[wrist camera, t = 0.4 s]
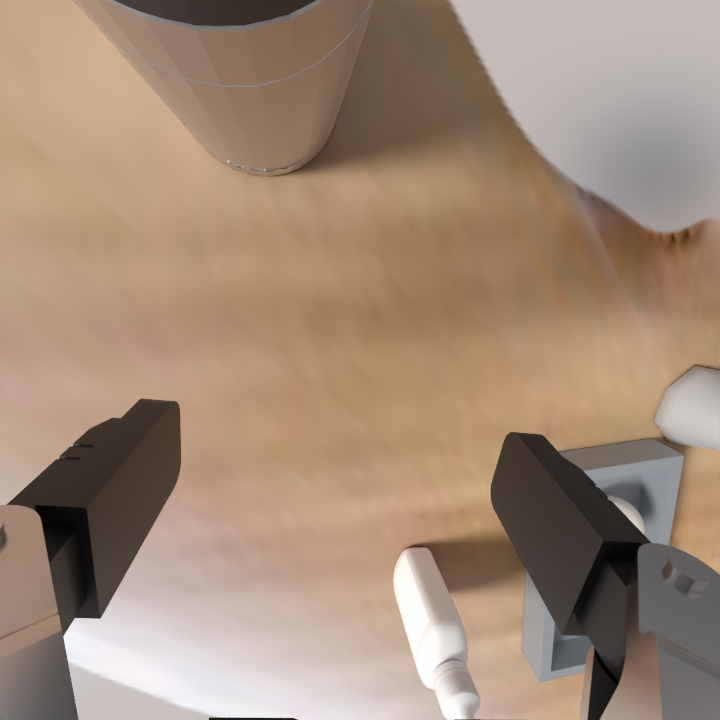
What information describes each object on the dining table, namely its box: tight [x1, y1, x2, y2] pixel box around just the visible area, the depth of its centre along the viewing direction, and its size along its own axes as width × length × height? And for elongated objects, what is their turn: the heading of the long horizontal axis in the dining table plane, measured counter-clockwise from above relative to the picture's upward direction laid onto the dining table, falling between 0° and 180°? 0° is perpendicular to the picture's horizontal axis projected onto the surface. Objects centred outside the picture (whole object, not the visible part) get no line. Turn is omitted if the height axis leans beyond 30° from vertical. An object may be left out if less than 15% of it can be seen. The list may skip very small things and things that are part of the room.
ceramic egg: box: [608, 496, 645, 535], centre depth 33 cm, size 4×4×4 cm
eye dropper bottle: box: [393, 547, 480, 720], centre depth 29 cm, size 4×6×12 cm
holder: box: [522, 438, 684, 682], centre depth 35 cm, size 21×11×3 cm, turn 4°
